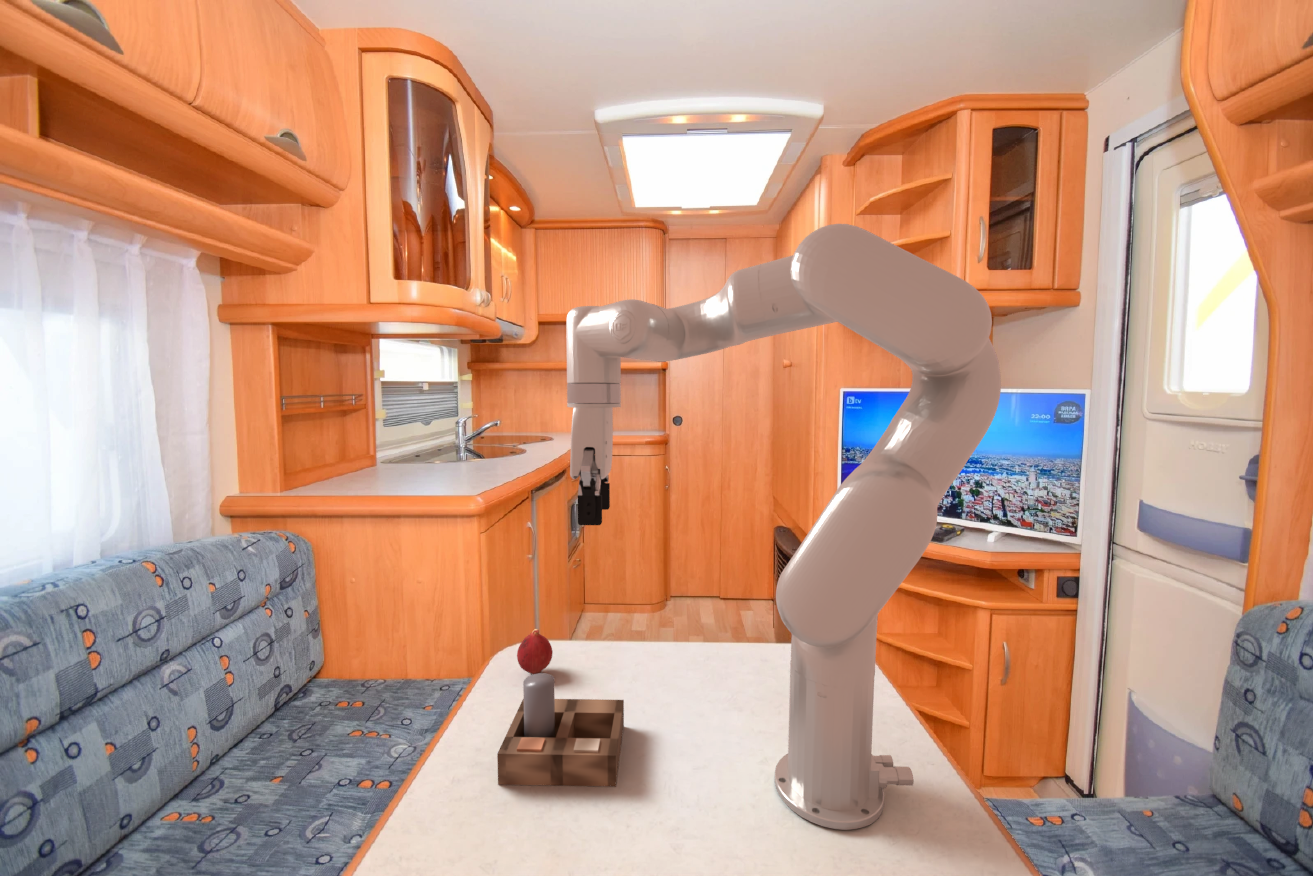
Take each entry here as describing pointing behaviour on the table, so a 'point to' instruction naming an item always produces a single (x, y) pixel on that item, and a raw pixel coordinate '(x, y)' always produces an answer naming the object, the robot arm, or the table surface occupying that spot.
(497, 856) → the table surface
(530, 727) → the plug
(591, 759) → the socket block
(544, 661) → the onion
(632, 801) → the table surface
